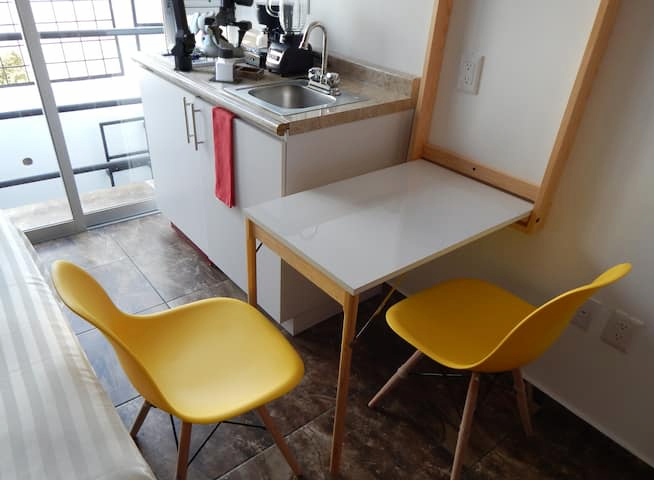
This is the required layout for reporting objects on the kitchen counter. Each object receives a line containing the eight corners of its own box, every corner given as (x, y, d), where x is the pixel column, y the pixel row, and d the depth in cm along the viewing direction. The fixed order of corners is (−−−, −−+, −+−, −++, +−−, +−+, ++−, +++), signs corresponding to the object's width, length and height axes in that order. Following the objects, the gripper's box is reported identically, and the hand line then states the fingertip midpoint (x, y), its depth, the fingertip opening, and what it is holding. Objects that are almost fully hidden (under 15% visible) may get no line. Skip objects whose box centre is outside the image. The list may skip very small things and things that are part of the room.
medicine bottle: (233, 82, 202) (232, 51, 195) (216, 80, 202) (215, 49, 195) (235, 78, 208) (235, 48, 201) (219, 76, 208) (218, 46, 201)
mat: (208, 80, 202) (208, 79, 202) (217, 76, 209) (216, 75, 209) (236, 84, 200) (236, 83, 200) (243, 79, 208) (243, 78, 207)
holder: (215, 74, 211) (214, 67, 209) (223, 70, 219) (223, 63, 218) (257, 80, 208) (257, 73, 207) (264, 75, 217) (264, 68, 215)
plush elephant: (223, 48, 259) (222, 5, 248) (248, 56, 247) (248, 11, 235) (179, 52, 243) (175, 5, 232) (203, 61, 231) (201, 12, 219)
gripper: (197, 2, 186) (199, 46, 195) (243, 8, 184) (243, 52, 192) (209, 0, 195) (210, 42, 204) (252, 5, 193) (252, 47, 201)
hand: (228, 46), depth 200 cm, fingers open, 9 cm apart
